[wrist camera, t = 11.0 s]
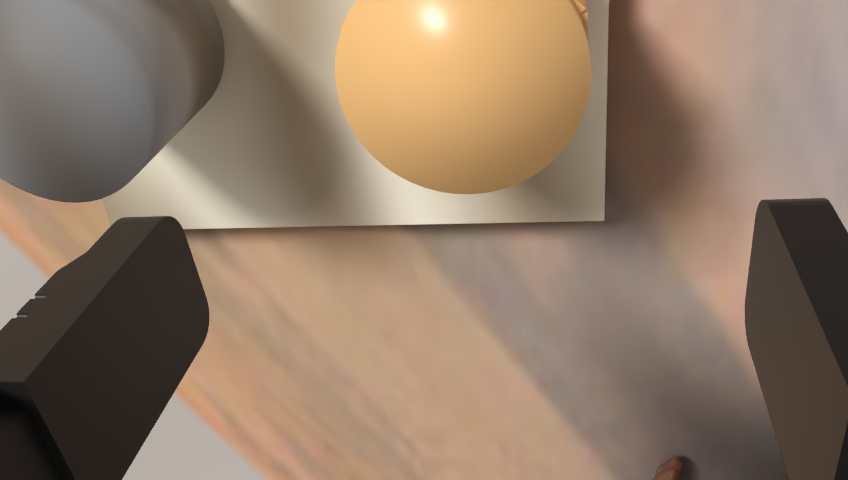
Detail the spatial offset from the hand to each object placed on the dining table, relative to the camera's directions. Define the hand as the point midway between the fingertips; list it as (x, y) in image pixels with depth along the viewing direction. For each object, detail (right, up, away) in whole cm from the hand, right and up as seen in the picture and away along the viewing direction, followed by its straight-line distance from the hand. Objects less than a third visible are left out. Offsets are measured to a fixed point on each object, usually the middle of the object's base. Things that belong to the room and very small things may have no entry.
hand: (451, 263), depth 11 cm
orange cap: (+1, +6, +10) cm, 12 cm away
